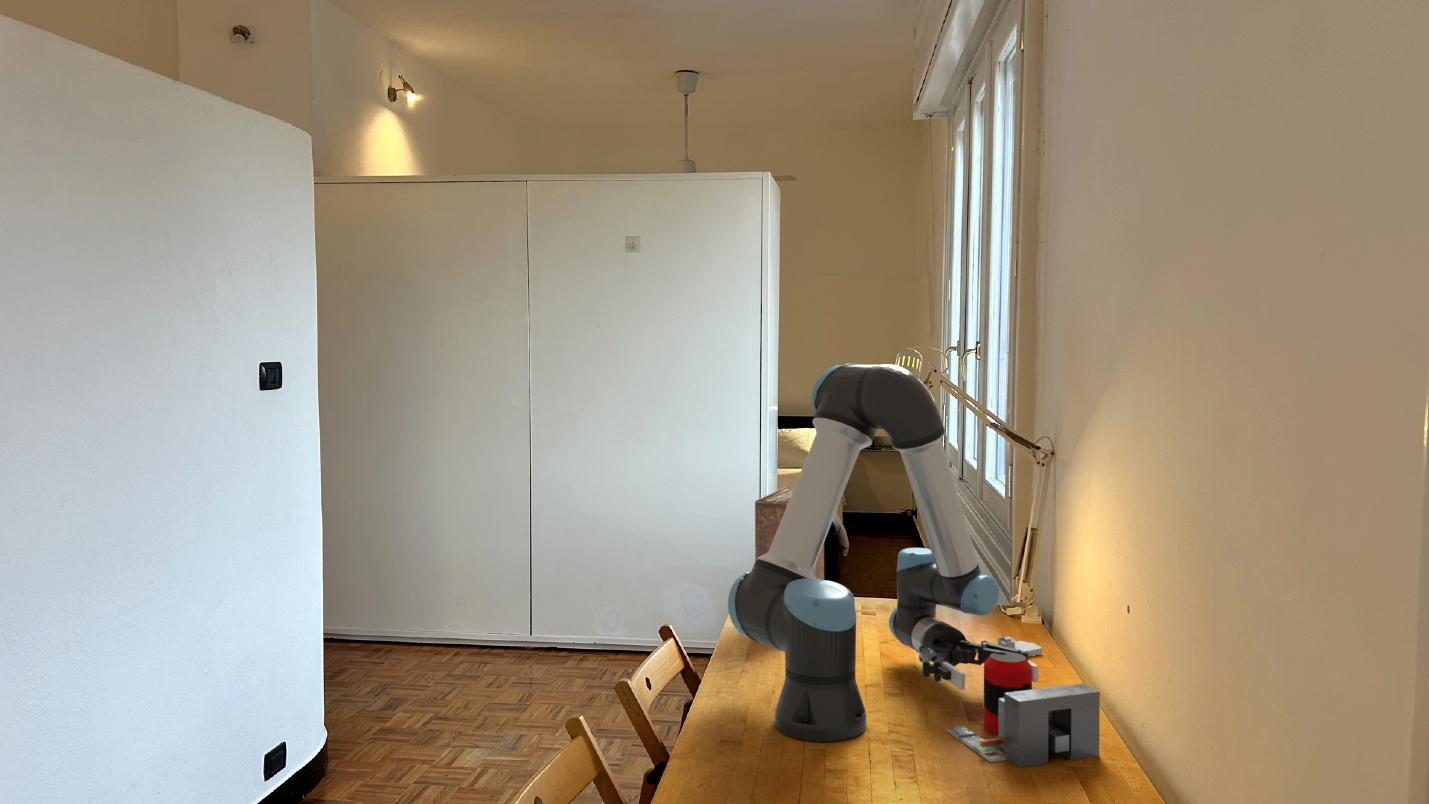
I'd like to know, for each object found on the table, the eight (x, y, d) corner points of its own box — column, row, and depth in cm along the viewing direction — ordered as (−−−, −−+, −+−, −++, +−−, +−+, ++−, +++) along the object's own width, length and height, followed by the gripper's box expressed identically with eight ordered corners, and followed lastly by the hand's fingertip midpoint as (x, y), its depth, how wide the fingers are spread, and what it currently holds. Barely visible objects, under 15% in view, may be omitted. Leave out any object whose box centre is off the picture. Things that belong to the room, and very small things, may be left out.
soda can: (1011, 718, 171) (1012, 647, 170) (1041, 733, 164) (1042, 660, 163) (974, 724, 168) (974, 653, 167) (1002, 740, 161) (1003, 666, 160)
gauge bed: (1001, 770, 150) (1001, 703, 149) (947, 731, 165) (947, 671, 164) (1099, 756, 154) (1099, 691, 154) (1037, 719, 170) (1037, 661, 169)
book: (787, 609, 244) (786, 485, 243) (824, 612, 241) (824, 487, 239) (755, 637, 220) (754, 501, 219) (796, 641, 217) (795, 502, 216)
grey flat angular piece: (1003, 643, 216) (1003, 625, 216) (1049, 655, 207) (1049, 637, 207) (967, 653, 209) (967, 635, 209) (1013, 666, 200) (1013, 647, 200)
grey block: (1003, 769, 149) (1003, 716, 149) (977, 752, 156) (977, 701, 155) (1098, 756, 154) (1099, 704, 153) (1070, 739, 160) (1070, 689, 160)
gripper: (999, 656, 192) (1065, 692, 172) (878, 668, 186) (931, 707, 165) (999, 617, 192) (1065, 649, 171) (878, 628, 185) (931, 662, 165)
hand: (1000, 677), depth 168 cm, fingers open, 13 cm apart
